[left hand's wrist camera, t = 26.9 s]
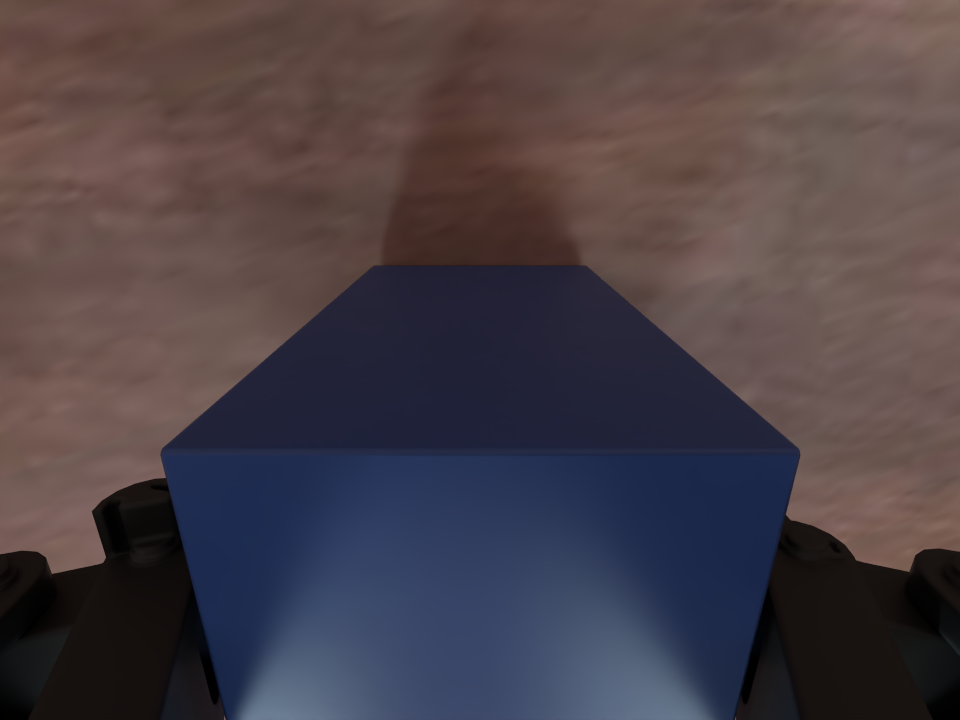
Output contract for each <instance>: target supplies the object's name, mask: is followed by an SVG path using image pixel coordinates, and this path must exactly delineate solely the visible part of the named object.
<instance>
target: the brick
mask: <svg viewBox="0 0 960 720" xmlns="http://www.w3.org/2000/svg"><path fill="white" fill-rule="evenodd" d="M161 459H162V463H163V467H164V471H165V475H166V479H167V483H168V487H169V491H170V495H171V500H172V504H173V508H174V512H175V516H176V520H177V524H178V528H179V532H180V536H181V540H182V544H183V548H184V552H185V556H186V560H187V564H188V568H189V572H190V577H191V581H192V585H193V589H194V593H195V597H196V601H197V605H198V609H199V613H200V617H201V621H202V625H203V629H204V633H205V637H206V641H207V645H208V650H209V654H210V658H211V662H212V666H213V670H214V674H215V678H216V682H217V686H218V690H219V694H220V698H221V702H222V706H223V710H224V714H225V718H226V720H735V717H736V713H737V709H738V704H739V700H740V696H741V692H742V688H743V684H744V680H745V676H746V672H747V668H748V664H749V660H750V656H751V652H752V648H753V644H754V640H755V636H756V632H757V628H758V624H759V620H760V616H761V612H762V608H763V604H764V600H765V596H766V592H767V588H768V584H769V580H770V576H771V572H772V568H773V563H774V559H775V555H776V551H777V547H778V543H779V539H780V535H781V531H782V527H783V523H784V519H785V515H786V511H787V507H788V503H789V499H790V495H791V491H792V487H793V483H794V479H795V475H796V471H797V467H798V463H799V459H800V451H799V448H797V447H796V446H795V445H794V444H793V443H792V442H790V441H789V440H788V439H787V438H786V437H785V436H783V435H782V434H781V433H780V432H779V431H778V430H776V429H775V428H774V427H773V426H772V425H771V424H770V423H768V422H767V421H766V420H765V419H764V418H763V417H761V416H760V415H759V414H758V413H757V412H756V411H754V410H753V409H752V408H751V407H750V406H749V405H747V404H746V403H745V402H744V401H743V400H742V399H740V398H739V397H738V396H737V395H736V394H735V393H733V392H732V391H731V390H730V389H729V388H728V387H726V386H725V385H724V384H723V383H722V382H721V381H720V380H718V379H717V378H716V377H715V376H714V375H713V374H711V373H710V372H709V371H708V370H707V369H706V368H704V367H703V366H702V365H701V364H700V363H699V362H697V361H696V360H695V359H694V358H693V357H692V356H690V355H689V354H688V353H687V352H686V351H685V350H683V349H682V348H681V347H680V346H679V345H678V344H677V343H675V342H674V341H673V340H672V339H671V338H670V337H668V336H667V335H666V334H665V333H664V332H663V331H661V330H660V329H659V328H658V327H657V326H656V325H654V324H653V323H652V322H651V321H650V320H649V319H647V318H646V317H645V316H644V315H643V314H642V313H640V312H639V311H638V310H637V309H636V308H635V307H633V306H632V305H631V304H630V303H629V302H628V301H627V300H625V299H624V298H623V297H622V296H621V295H620V294H618V293H617V292H616V291H615V290H614V289H613V288H611V287H610V286H609V285H608V284H607V283H606V282H604V281H603V280H602V279H601V278H600V277H599V276H597V275H596V274H595V273H594V272H593V271H592V270H590V269H589V268H588V267H587V266H373V267H372V268H371V269H369V270H368V271H367V272H366V273H365V274H364V275H363V276H361V277H360V278H359V279H358V280H357V281H356V282H354V283H353V284H352V285H351V286H350V287H349V288H348V289H346V290H345V291H344V292H343V293H342V294H341V295H339V296H338V297H337V298H336V299H335V300H334V301H332V302H331V303H330V304H329V305H328V306H327V307H326V308H324V309H323V310H322V311H321V312H320V313H319V314H317V315H316V316H315V317H314V318H313V319H312V320H310V321H309V322H308V323H307V324H306V325H305V326H304V327H302V328H301V329H300V330H299V331H298V332H297V333H295V334H294V335H293V336H292V337H291V338H290V339H288V340H287V341H286V342H285V343H284V344H283V345H282V346H280V347H279V348H278V349H277V350H276V351H275V352H273V353H272V354H271V355H270V356H269V357H268V358H266V359H265V360H264V361H263V362H262V363H261V364H260V365H258V366H257V367H256V368H255V369H254V370H253V371H251V372H250V373H249V374H248V375H247V376H246V377H244V378H243V379H242V380H241V381H240V382H239V383H238V384H236V385H235V386H234V387H233V388H232V389H231V390H229V391H228V392H227V393H226V394H225V395H224V396H222V397H221V398H220V399H219V400H218V401H217V402H216V403H214V404H213V405H212V406H211V407H210V408H209V409H207V410H206V411H205V412H204V413H203V414H202V415H200V416H199V417H198V418H197V419H196V420H195V421H194V422H192V423H191V424H190V425H189V426H188V427H187V428H185V429H184V430H183V431H182V432H181V433H180V434H179V435H177V436H176V437H175V438H174V439H173V440H172V441H170V442H169V443H168V444H167V445H166V446H165V447H163V448H162V451H161Z"/></svg>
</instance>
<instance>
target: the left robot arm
mask: <svg viewBox="0 0 960 720" xmlns="http://www.w3.org/2000/svg"><path fill="white" fill-rule="evenodd" d="M92 514H93V517H94V520H95V523H96V526H97V530H98V533H99V536H100V539H101V542H102V545H103V549H104V552H105V555H106V559H105V561H104V563H102V564H98V565H93V566H89V567H84V568H79V569H74V570H69V571H65V572H60V573H55V574H52V573H51V570H50V568H49V565H48V562H47V559H46V557H44V556H43V555H41V554H40V553H38V552H32V551H18V552H12V553H6V554H0V720H224V715H225V714H224V710H223V706H222V702H221V698H220V694H219V690H218V686H217V682H216V678H215V674H214V670H213V666H212V662H211V658H210V654H209V650H208V645H207V641H206V637H205V633H204V629H203V625H202V621H201V617H200V613H199V609H198V605H197V601H196V597H195V593H194V589H193V585H192V581H191V577H190V572H189V568H188V564H187V560H186V556H185V552H184V548H183V544H182V540H181V536H180V532H179V528H178V524H177V520H176V516H175V512H174V508H173V504H172V500H171V495H170V491H169V487H168V483H167V479H166V478H161V479H152V480H148V481H144V482H140V483H136V484H133V485H131V486H128V487H126V488H124V489H121V490H119V491H117V492H115V493H113V494H112V495H110V496H109V497H107V498H106V499H104V500H102V501H101V502H100V503H99V504H98V505H97V506H96V508H95V509H94V510H93V511H92ZM736 720H960V552H957V551H951V550H945V549H926V550H923V551H921V552H920V553H918V554H917V555H915V558H914V561H913V564H912V566H911V569H910V572H907V571H902V570H897V569H892V568H887V567H883V566H878V565H873V564H868V563H864V562H860V561H856V560H855V558H854V556H853V555H852V553H851V552H850V551H849V550H848V548H847V547H846V546H845V545H844V544H843V543H842V542H840V541H839V540H838V539H836V538H835V537H833V536H832V535H831V534H829V533H827V532H825V531H822V530H820V529H818V528H816V527H814V526H811V525H808V524H804V523H801V522H797V521H791V520H790V519H789V518H788V517H787V516H786V515H785V519H784V523H783V527H782V531H781V535H780V539H779V543H778V547H777V551H776V555H775V559H774V563H773V568H772V572H771V576H770V580H769V584H768V588H767V592H766V596H765V600H764V604H763V608H762V612H761V616H760V620H759V624H758V628H757V632H756V636H755V640H754V644H753V648H752V652H751V656H750V660H749V664H748V668H747V672H746V676H745V680H744V684H743V688H742V692H741V696H740V700H739V704H738V709H737V713H736Z"/></svg>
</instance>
